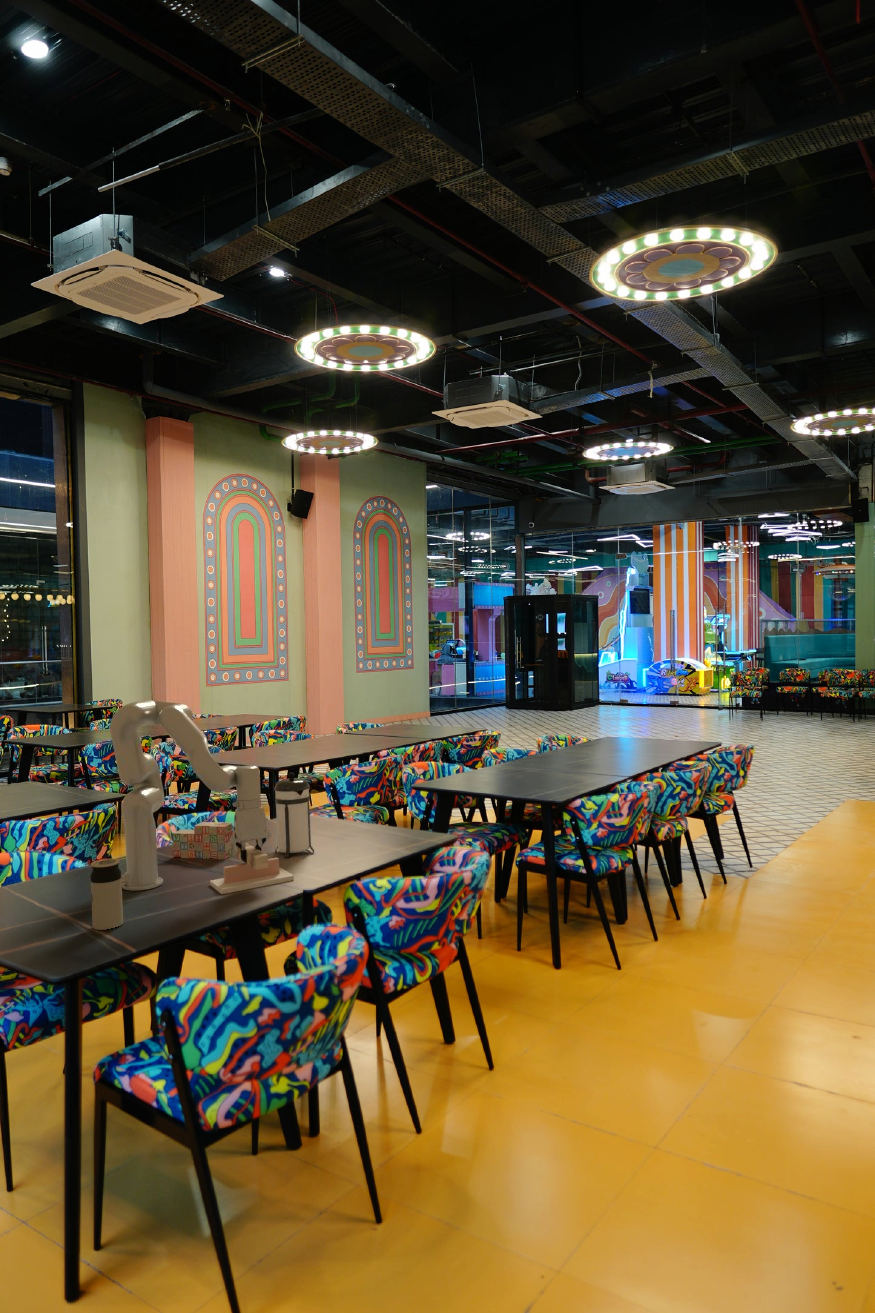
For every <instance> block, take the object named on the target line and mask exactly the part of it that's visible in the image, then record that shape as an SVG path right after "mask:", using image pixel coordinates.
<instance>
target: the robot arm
mask: <svg viewBox="0 0 875 1313" xmlns="http://www.w3.org/2000/svg"><path fill="white" fill-rule="evenodd" d="M193 719H194V715H193V711H192V709H191V708H190V707H189V706H188V705H186V704H184V703H181V702H180V703H179V702H169V701H159V700H153V699H152V700H151V699H145V700H139V701H133V702H130V703H127V704H125V705H123V706H122V707H120V708H119V709H118V710H116V712H115V713H114V714H113V716H112V718H111V721H110V725H109V732H110V737H111V741H112V746H113V750H114V756H115V761H116V762H115V763H116V765H117V766H116V767H117V772H118V776H119V779H120V781H121V782H122V784H125V785H126V786H129V787H131V786H132V787H133V788H134V789H133V790H131V791H129V792H127V794H126V795H125V796H124V798H123V799H122V803H121V814H122V819H123V826H124V839H125V858H126V860H125V861H126V863H125V864H126V871H125V872H124V874H121V882H122V890H125V891H133V892H134V891H145V890H151V889H154V888H157V887H159V886H161V885H163V883H164V878H162V877H160V876H159V869H158V868H159V867H158V865H159V864H158V848H157V846H158V845H157V843H158V842H157V828H156V821H155V818H154V813H156V812H157V811H158V810H159V809H160V808H161V807H162V806H163V804H164V801H165V793H164V786H163V782H162V778H161V772H160V768H159V764H158V762H157V759H155V758H154V756H153V755H152V754H150V753H147V752H143V751H144V750H143V744H142V742H141V738H140V736H139V733H138V729H140V728H143V727H147V726H152V727H160V728H162V729H163V730H164V731H165V733H166V734H167V735H168V736H169V737H170V738H171V739H172V740H173V742H174V743H175V744H176V745H177V746H178V748H180V750H182V752H183V753H184V754H185V756H186V758H187V762H188V763H189V765H190V767H191V768H192V770H193V772H194V774H196V775H197V776H196V777H198V778H199V780H201V781H202V783H203V784H204V785H205V786H206V787H207V788H208V789H209V790H211V791H212V792H214V793H219V794H221V793H224V792H225V791H228V790H229V789H233V787H236V801H235V802H233V803H232V806H233V807H235V808H236V809H235V810H234V811H235V812H234V816H233V817H234V819H233V835H232V836H231V838H230V840H229V842H230V843H232V844H233V846H235V845H236V846H237V847H238V848H240V854H241V860H240V861H241V862H244V863H245V862H247V853H246V852H247V850H246V849H245V846H246V843H247V841H254V840H255V844H256V845H255V846H254V847H255V848H256V849H258V850H260V851H262V848H263V845H264V844H265V843H266V842H267V841H268V840H269V839H270V838H271V837H272V834H271V832H270V831H269V830H268V824H267V816H266V811H265V808H264V806H262V802H261V801H262V800H261V799H262V798H261V796H262V795H261V777H260V776H261V774H260V772H261V771H260V768H259V766H257V765H251V764H250V765H231V764H225V765H221V766H220V764H219V763H217V761H216V760H215V758H214V757H213V756H212V753H211V752H210V749H209V746H208V744H209V743H208V738H207V736H206V734H205V733H204V732H203V731H202V730H201V729H200V728H199V727H198V725H197V724H196V723H195V722H194V721H193ZM233 807H232V808H233ZM237 840H238V841H237Z"/></svg>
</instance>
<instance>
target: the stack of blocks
mask: <svg viewBox="0 0 875 1313" xmlns="http://www.w3.org/2000/svg"><path fill="white" fill-rule="evenodd" d="M233 833H234V830H233V823H232V822H224V821H222V822H221V821H216V822H213V821H210V822H209V821H207V822H206V821H201V822H199V823H197V824H195V825H194V826H193V829H179V830H177V831H175V832H173V833H172V834H171V836H172V837H171V838H172V851H173V852H172V856H173V858H174V857H181V858H180V859H194V858H195V859H196V858H201V859H202V858H203V859H204V860H210V859H209V858H213V859H212V860H223V859H225V860H227V859H228V858H227V857H229V856H231V857H233V856H234V847H233V846H234V844H232V843H230V842H229V840H230V838H231V836H232V835H233ZM232 855H233V856H232ZM206 858H207V859H206ZM226 858H227V859H226ZM229 858H230V857H229ZM203 859H202V860H203Z"/></svg>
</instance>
